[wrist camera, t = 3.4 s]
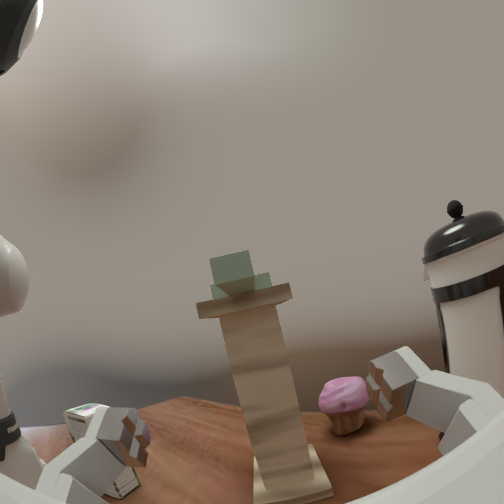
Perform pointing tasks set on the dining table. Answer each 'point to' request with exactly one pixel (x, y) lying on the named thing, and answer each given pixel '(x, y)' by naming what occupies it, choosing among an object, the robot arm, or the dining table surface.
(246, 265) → the spatula
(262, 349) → the stand
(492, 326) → the coffee press
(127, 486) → the syrup box
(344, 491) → the dining table surface
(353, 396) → the cupcake
